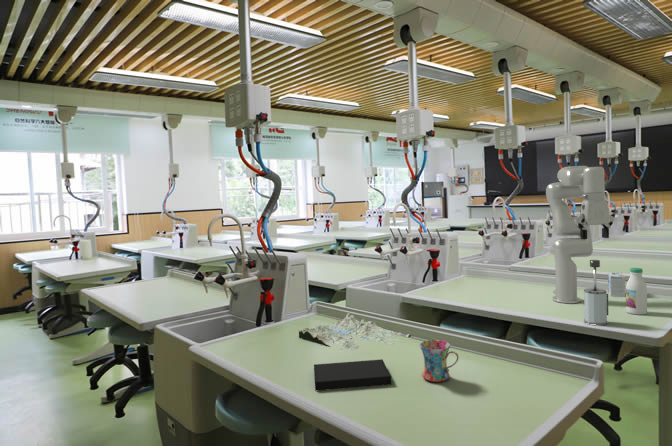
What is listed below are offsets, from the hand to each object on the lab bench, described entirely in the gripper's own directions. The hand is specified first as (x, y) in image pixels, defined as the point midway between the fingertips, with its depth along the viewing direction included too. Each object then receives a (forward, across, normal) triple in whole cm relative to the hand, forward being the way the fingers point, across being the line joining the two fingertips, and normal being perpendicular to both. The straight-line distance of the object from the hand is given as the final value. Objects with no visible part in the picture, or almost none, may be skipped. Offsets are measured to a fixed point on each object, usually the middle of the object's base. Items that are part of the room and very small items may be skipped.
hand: (594, 238), depth 181 cm
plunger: (+25, 0, 0) cm, 25 cm away
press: (+36, 0, 0) cm, 36 cm away
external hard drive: (+37, -109, -30) cm, 119 cm away
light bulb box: (+35, +43, +40) cm, 69 cm away
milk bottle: (+36, +26, +8) cm, 45 cm away
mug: (+36, -82, -38) cm, 97 cm away
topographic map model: (+37, -101, +10) cm, 108 cm away
